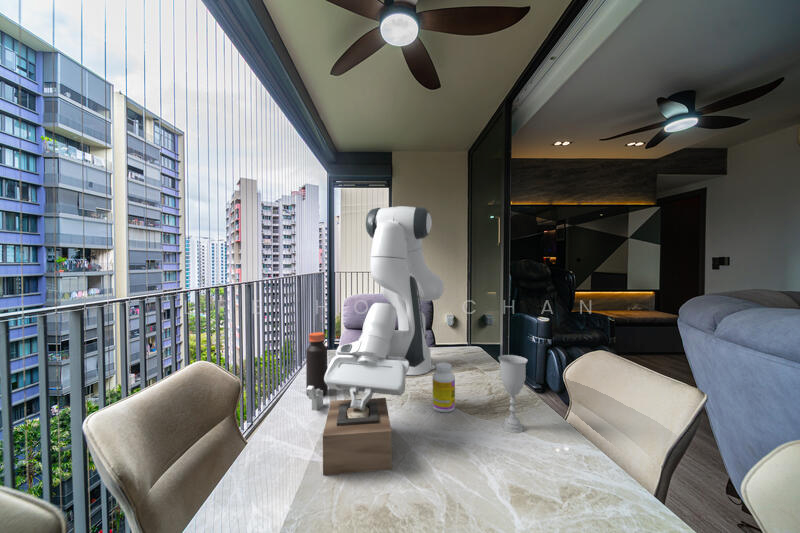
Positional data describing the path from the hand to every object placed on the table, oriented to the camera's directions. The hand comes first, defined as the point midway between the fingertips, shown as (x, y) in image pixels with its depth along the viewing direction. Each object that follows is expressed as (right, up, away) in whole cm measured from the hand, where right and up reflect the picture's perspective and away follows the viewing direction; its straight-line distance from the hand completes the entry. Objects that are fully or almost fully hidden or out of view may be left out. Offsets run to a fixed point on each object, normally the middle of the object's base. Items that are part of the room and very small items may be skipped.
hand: (356, 409), depth 69 cm
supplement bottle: (+23, -10, +21) cm, 32 cm away
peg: (0, -9, +1) cm, 9 cm away
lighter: (-15, -10, +20) cm, 27 cm away
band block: (0, -10, +1) cm, 10 cm away
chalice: (+39, -10, +10) cm, 42 cm away
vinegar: (-18, -10, +31) cm, 37 cm away
